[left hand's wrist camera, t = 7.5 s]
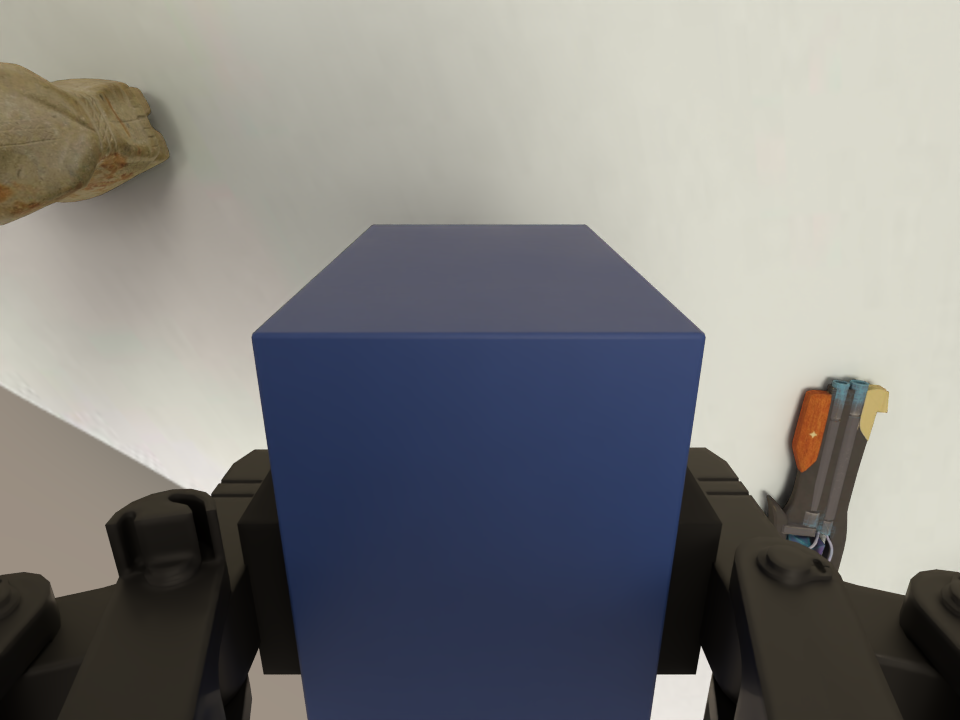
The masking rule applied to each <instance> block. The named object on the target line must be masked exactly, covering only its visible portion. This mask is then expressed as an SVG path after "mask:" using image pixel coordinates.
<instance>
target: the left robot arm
mask: <svg viewBox="0 0 960 720" xmlns="http://www.w3.org/2000/svg"><path fill="white" fill-rule="evenodd" d="M105 526H106V530H107V534H108V537H109V541H110V545H111V548H112V552H113V556H114V559H115V563H116V567H117V570H118V574H119V579H118V581H117V583H116V584H114V585H111V586H107V587H104V588H100V589H95V590H91V591H86V592H81V593H76V594H72V595H67V596H63V597H58V598H55V597H54V594H53V591H52V588H51V585H50V582H49V581H48V580H46V579H45V578H44V577H43V576H42V575H40V574H34V573H26V572H21V573H13V574H5V575H0V720H250V712H251V703H252V696H251V688H250V682H249V677H248V672H249V670H250V667H251V665H252V663H253V660H254V658H255V655H256V653H257V651H258V648H259V650H260V656H261V661H262V667H263V673H264V674H301V670H300V664H299V657H298V650H297V643H296V636H295V630H294V623H293V616H292V609H291V602H290V596H289V589H288V582H287V575H286V568H285V562H284V555H283V548H282V541H281V534H280V528H279V521H278V514H277V507H276V500H275V494H274V487H273V480H272V473H271V466H270V460H269V453H268V450H253V451H252V452H250V453H249V454H247V455H246V456H244V457H243V458H241V459H240V460H238V461H237V462H235V463H234V464H233V465H232V466H231V468H230V469H229V470H228V472H227V473H226V475H225V476H224V477H223V479H222V480H221V483H219V484H218V485H217V487H216V488H215V490H214V491H213V492H212V494H211V496H210V495H209V494H207V493H206V492H202V491H198V490H194V489H173V490H168V491H163V492H159V493H155V494H151V495H148V496H146V497H143V498H141V499H139V500H136V501H134V502H131V503H130V504H128V505H127V506H125V507H124V508H122V509H121V510H119V511H118V512H116V513H115V514H114V515H113V516H112V518H111V519H110V520H109V521H108V522H107V523H106V525H105ZM701 646H702V649H703V651H704V653H705V656H706V658H707V660H708V663H709V665H710V667H711V670H712V677H711V682H710V688H709V693H708V698H707V703H706V709H705V714H704V719H703V720H960V573H959V572H953V571H945V570H937V569H936V570H929V571H922V572H919V573H918V574H917V575H915V576H914V577H913V578H912V579H911V580H910V583H909V586H908V589H907V592H906V595H900V594H896V593H891V592H886V591H882V590H877V589H872V588H868V587H863V586H858V585H855V584H851V583H848V582H844V581H843V580H842V577H841V576H840V574H839V573H838V571H837V570H836V569H835V567H834V566H833V564H832V563H831V562H830V561H828V560H827V559H826V558H824V557H823V556H822V555H820V554H819V553H818V552H816V551H815V550H812V549H810V548H808V547H806V546H804V545H802V544H800V543H797V542H794V541H790V540H786V539H783V538H782V536H781V535H780V534H779V532H778V531H777V530H776V528H775V527H774V526H773V524H772V523H771V521H770V520H769V519H768V517H767V516H766V515H765V513H764V512H763V511H762V509H761V508H760V507H759V505H758V504H757V502H756V501H755V500H754V498H753V497H752V496H751V495H749V492H748V490H747V489H746V488H745V486H744V485H743V483H742V482H741V481H739V478H738V477H737V475H736V474H735V473H734V471H733V470H732V469H731V467H730V466H729V464H728V463H727V462H726V461H725V460H723V459H722V458H720V457H719V456H717V455H716V454H714V453H713V452H711V451H710V450H708V449H707V448H689V455H688V462H687V469H686V475H685V482H684V489H683V496H682V503H681V510H680V517H679V524H678V531H677V537H676V544H675V551H674V558H673V565H672V572H671V579H670V586H669V593H668V599H667V606H666V613H665V620H664V627H663V634H662V641H661V648H660V655H659V661H658V668H657V674H696V670H697V665H698V659H699V653H700V648H701Z"/></svg>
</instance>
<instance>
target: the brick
mask: <svg viewBox="0 0 960 720" xmlns="http://www.w3.org/2000/svg"><path fill="white" fill-rule="evenodd" d="M705 338H706V337H705V334H704V333H703V332H702V331H701V330H700V329H699V328H698V327H697V326H696V325H695V324H694V323H692V322H691V321H690V320H689V319H688V318H687V317H686V316H685V315H684V314H683V313H682V312H680V311H679V310H678V309H677V308H676V307H675V306H674V305H673V304H672V303H671V302H670V301H668V300H667V299H666V298H665V297H664V296H663V295H662V294H661V293H660V292H659V291H658V290H657V289H655V288H654V287H653V286H652V285H651V284H650V283H649V282H648V281H647V280H646V279H645V278H643V277H642V276H641V275H640V274H639V273H638V272H637V271H636V270H635V269H634V268H633V267H632V266H630V265H629V264H628V263H627V262H626V261H625V260H624V259H623V258H622V257H621V256H620V255H618V254H617V253H616V252H615V251H614V250H613V249H612V248H611V247H610V246H609V245H608V244H606V243H605V242H604V241H603V240H602V239H601V238H600V237H599V236H598V235H597V234H596V233H595V232H593V231H592V230H591V229H590V228H589V227H588V226H587V225H372V226H371V227H370V228H368V229H367V230H366V231H365V232H364V233H363V234H362V235H361V236H360V237H358V238H357V239H356V240H355V241H354V242H353V243H352V244H351V245H350V246H349V247H347V248H346V249H345V250H344V251H343V252H342V253H341V254H340V255H339V256H338V257H336V258H335V259H334V260H333V261H332V262H331V263H330V264H329V265H328V266H327V267H325V268H324V269H323V270H322V271H321V272H320V273H319V274H318V275H317V276H315V277H314V278H313V279H312V280H311V281H310V282H309V283H308V284H307V285H306V286H304V287H303V288H302V289H301V290H300V291H299V292H298V293H297V294H296V295H295V296H293V297H292V298H291V299H290V300H289V301H288V302H287V303H286V304H285V305H284V306H282V307H281V308H280V309H279V310H278V311H277V312H276V313H275V314H274V315H272V316H271V317H270V318H269V319H268V320H267V321H266V322H265V323H264V324H263V325H261V326H260V327H259V328H258V329H257V330H256V331H255V332H254V333H253V334H252V344H253V351H254V358H255V364H256V371H257V378H258V385H259V392H260V398H261V405H262V412H263V419H264V426H265V432H266V439H267V446H268V453H269V460H270V466H271V473H272V480H273V487H274V494H275V500H276V507H277V514H278V521H279V528H280V534H281V541H282V548H283V555H284V562H285V568H286V575H287V582H288V589H289V596H290V602H291V609H292V616H293V623H294V630H295V636H296V643H297V650H298V657H299V664H300V670H301V677H302V684H303V691H304V698H305V704H306V711H307V718H308V720H650V717H651V710H652V703H653V696H654V689H655V682H656V675H657V668H658V661H659V655H660V648H661V641H662V634H663V627H664V620H665V613H666V606H667V599H668V593H669V586H670V579H671V572H672V565H673V558H674V551H675V544H676V537H677V531H678V524H679V517H680V510H681V503H682V496H683V489H684V482H685V475H686V469H687V462H688V455H689V448H690V441H691V434H692V427H693V420H694V413H695V407H696V400H697V393H698V386H699V379H700V372H701V365H702V358H703V351H704V345H705Z"/></svg>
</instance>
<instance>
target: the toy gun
mask: <svg viewBox="0 0 960 720" xmlns="http://www.w3.org/2000/svg"><path fill="white" fill-rule="evenodd" d="M888 397H889V392H888V391H886V389H884V388H883V387H881V386H879V385H869V383H867V382H865V381H861V380H850V381H849V383H848V382H846V381H842V380H833V381H832V385H828V388H827V391H821V390H810V391H806V394H805V397H804V401H803V404H802V408H801V411H800V415H799V419H798V423H797V426H796V430H795V434H794V438H793V441H792V449H793V453H794V457H795V461H796V465H797V468H798V471H797V475H796V479H795V483H794V488H793V491H792V494H791V496H790V498H789V500H788V502H787V504H786V505H785V507H784V508H783V509H781V507H780V506H779V504H778V503H777V502H776V501H775V500H774V499H773V498H772V497H771V496H769V495H767V501H768V508H769V516H768V519H769V520H770V521H771V523H772V524H773V526H774V527H775V528H776V530H777V531H778V532H779V534H780V535H781V536H782V538H783V539H786V540H790V541H794V542H797V543H800V544H802V545H804V546H806V547H808V548H810V549H812V550H815V551H816V552H818V553H819V554H820V555H822V556H823V557H824V558H826V559H827V560H828V561H830V562H831V563H832V564H833V566H834V567H835V569H836V570H837V571H838V569H839V566H840V562H841V558H842V554H843V551H844V546H845V541H846V534H847V510H848V506H849V502H850V498H851V495H852V491H853V487H854V483H855V480H856V476H857V472H858V469H859V466H860V462H861V459H862V456H863V453H864V449H865V446H866V443H867V441H868V439H869V436H870V433H871V429H872V426H873V423H874V419H875V416H876V413H877V412H885V413H887V409H888ZM816 530H817V534H816ZM820 533H822V534H824V535H826V540H825V544H824V543H823V542H822V540H821V539H820V538H819V534H820ZM786 536H787V537H786ZM822 552H823V553H822Z"/></svg>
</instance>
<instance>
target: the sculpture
mask: <svg viewBox="0 0 960 720" xmlns="http://www.w3.org/2000/svg"><path fill="white" fill-rule="evenodd" d="M150 113H151V110H150V107H149V105H148V103H147V101H146V99H145V98H144V96H143V94H142V93H141V91H140V90H139V89H138V88H134V87H129V86H128V85H127V84H125V83H122V82H118V81H111V80H102V79H68V80H59V81H54V82H51V83H50V82H49V81H47V80H45V79H44V78H42V77H40V76H39V75H37V74H35V73H33V72H32V71H30V70H28V69H26V68H24V67H22V66H20V65H17V64H11V63H2V62H0V225H4V224H7V223H9V222H12V221H14V220H17V219H19V218H22V217H24V216H26V215H29V214H31V213H33V212H35V211H37V210H39V209H41V208H43V207H45V206H48V205H50V204H52V203H55V202H76V201H81V200H86V199H90V198H93V197H96V196H99V195H102V194H104V193H106V192H108V191H110V190H112V189H114V188H116V187H118V186H119V185H121V184H123V183H125V182H126V181H128V180H130V179H132V178H133V177H135V176H137V175H138V174H140V173H142V172H144V171H146V170H148V169H150V168H152V167H154V166H156V165H158V164H160V163H162V162H164V161H165V160H167V159H168V158H169V151H168V148H167V145H166V143H165V140H164V138H163V136H162V134H161V133H160V132H158V131H156V130H155V129H154V128H153V127H152V126H151V125H150V122H149V120H148V118H147V116H148V115H149V114H150Z"/></svg>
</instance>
